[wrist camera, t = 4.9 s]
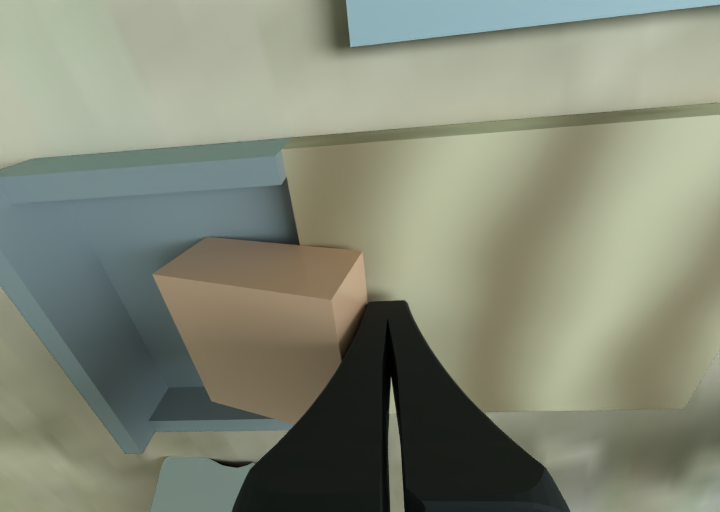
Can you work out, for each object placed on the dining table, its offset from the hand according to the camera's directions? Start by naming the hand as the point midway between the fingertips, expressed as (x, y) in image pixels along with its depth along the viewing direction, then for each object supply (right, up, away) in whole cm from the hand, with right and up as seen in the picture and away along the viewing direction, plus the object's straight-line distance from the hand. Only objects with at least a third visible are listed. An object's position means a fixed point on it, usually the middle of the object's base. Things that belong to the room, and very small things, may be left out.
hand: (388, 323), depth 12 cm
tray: (-7, +1, +3) cm, 8 cm away
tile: (-3, 0, +1) cm, 4 cm away
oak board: (+5, +1, +2) cm, 5 cm away
